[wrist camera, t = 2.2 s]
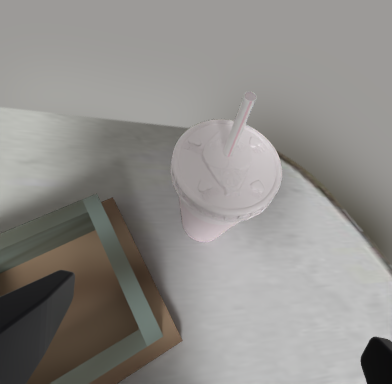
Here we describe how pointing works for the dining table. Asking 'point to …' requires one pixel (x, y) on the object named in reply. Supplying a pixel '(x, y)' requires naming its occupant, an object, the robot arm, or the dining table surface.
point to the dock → (91, 293)
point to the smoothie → (224, 174)
